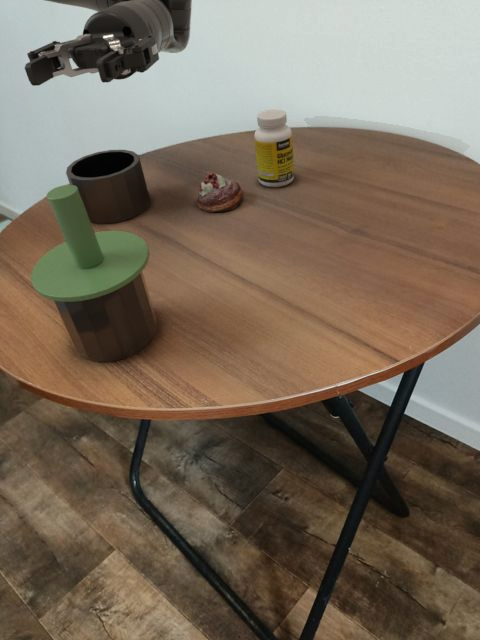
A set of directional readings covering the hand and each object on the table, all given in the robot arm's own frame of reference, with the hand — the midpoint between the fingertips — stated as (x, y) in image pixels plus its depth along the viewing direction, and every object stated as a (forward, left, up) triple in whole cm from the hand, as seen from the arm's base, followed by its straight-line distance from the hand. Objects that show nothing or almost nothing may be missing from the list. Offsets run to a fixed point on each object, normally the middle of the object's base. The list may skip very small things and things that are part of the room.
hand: (65, 74), depth 56 cm
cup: (+4, -13, -25) cm, 29 cm away
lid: (+4, -13, -16) cm, 21 cm away
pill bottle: (+16, +29, -25) cm, 42 cm away
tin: (-10, +19, -25) cm, 33 cm away
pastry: (+8, +21, -25) cm, 34 cm away
